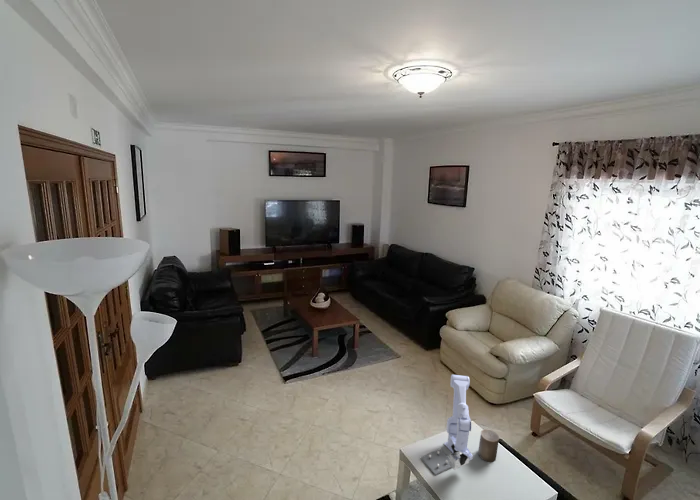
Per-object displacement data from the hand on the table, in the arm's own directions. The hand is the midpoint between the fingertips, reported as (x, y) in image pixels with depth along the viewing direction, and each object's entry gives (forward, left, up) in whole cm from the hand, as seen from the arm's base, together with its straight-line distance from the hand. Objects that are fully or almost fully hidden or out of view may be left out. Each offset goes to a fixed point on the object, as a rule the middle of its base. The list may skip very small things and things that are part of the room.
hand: (459, 460), depth 186 cm
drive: (0, 0, -2) cm, 2 cm away
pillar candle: (-24, -2, -8) cm, 25 cm away
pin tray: (+5, -10, -8) cm, 14 cm away
